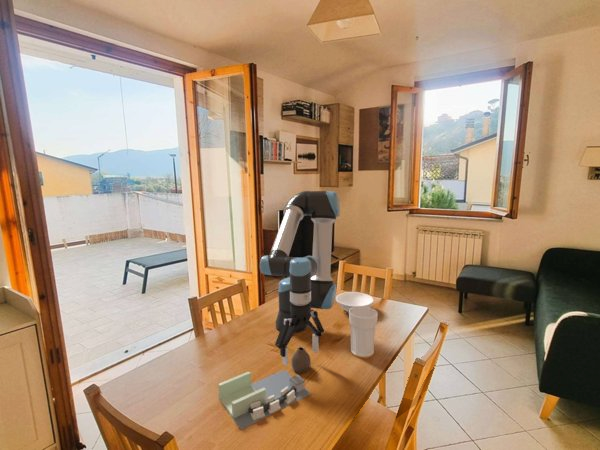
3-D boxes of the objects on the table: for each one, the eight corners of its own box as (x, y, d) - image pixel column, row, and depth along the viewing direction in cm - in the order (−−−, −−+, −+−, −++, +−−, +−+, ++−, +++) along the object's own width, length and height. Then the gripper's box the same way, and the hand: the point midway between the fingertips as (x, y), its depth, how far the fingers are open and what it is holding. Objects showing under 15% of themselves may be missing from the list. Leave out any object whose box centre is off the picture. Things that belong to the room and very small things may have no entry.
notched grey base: (246, 409, 96) (246, 406, 96) (296, 385, 107) (296, 382, 107) (252, 418, 93) (252, 414, 93) (304, 392, 104) (304, 388, 104)
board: (218, 400, 102) (218, 398, 102) (284, 372, 117) (284, 369, 117) (241, 433, 90) (240, 429, 89) (311, 396, 104) (311, 393, 104)
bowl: (376, 319, 159) (377, 306, 158) (337, 319, 159) (337, 306, 158) (369, 303, 178) (369, 291, 177) (333, 303, 178) (334, 291, 177)
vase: (297, 378, 113) (296, 355, 112) (288, 368, 119) (288, 346, 118) (314, 373, 116) (313, 350, 115) (305, 363, 122) (304, 342, 121)
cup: (342, 348, 132) (343, 308, 130) (365, 342, 137) (366, 304, 134) (358, 363, 122) (359, 320, 119) (382, 356, 126) (383, 314, 124)
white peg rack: (244, 408, 98) (243, 399, 97) (297, 382, 109) (297, 374, 109) (254, 422, 92) (254, 412, 92) (309, 393, 104) (309, 384, 103)
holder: (219, 397, 102) (218, 383, 102) (249, 384, 109) (248, 371, 108) (234, 419, 93) (233, 404, 92) (266, 403, 99) (266, 389, 99)
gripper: (276, 314, 103) (277, 374, 106) (333, 297, 118) (333, 351, 121) (264, 306, 109) (265, 364, 112) (320, 291, 124) (320, 343, 127)
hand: (300, 357), depth 116 cm, fingers open, 13 cm apart
